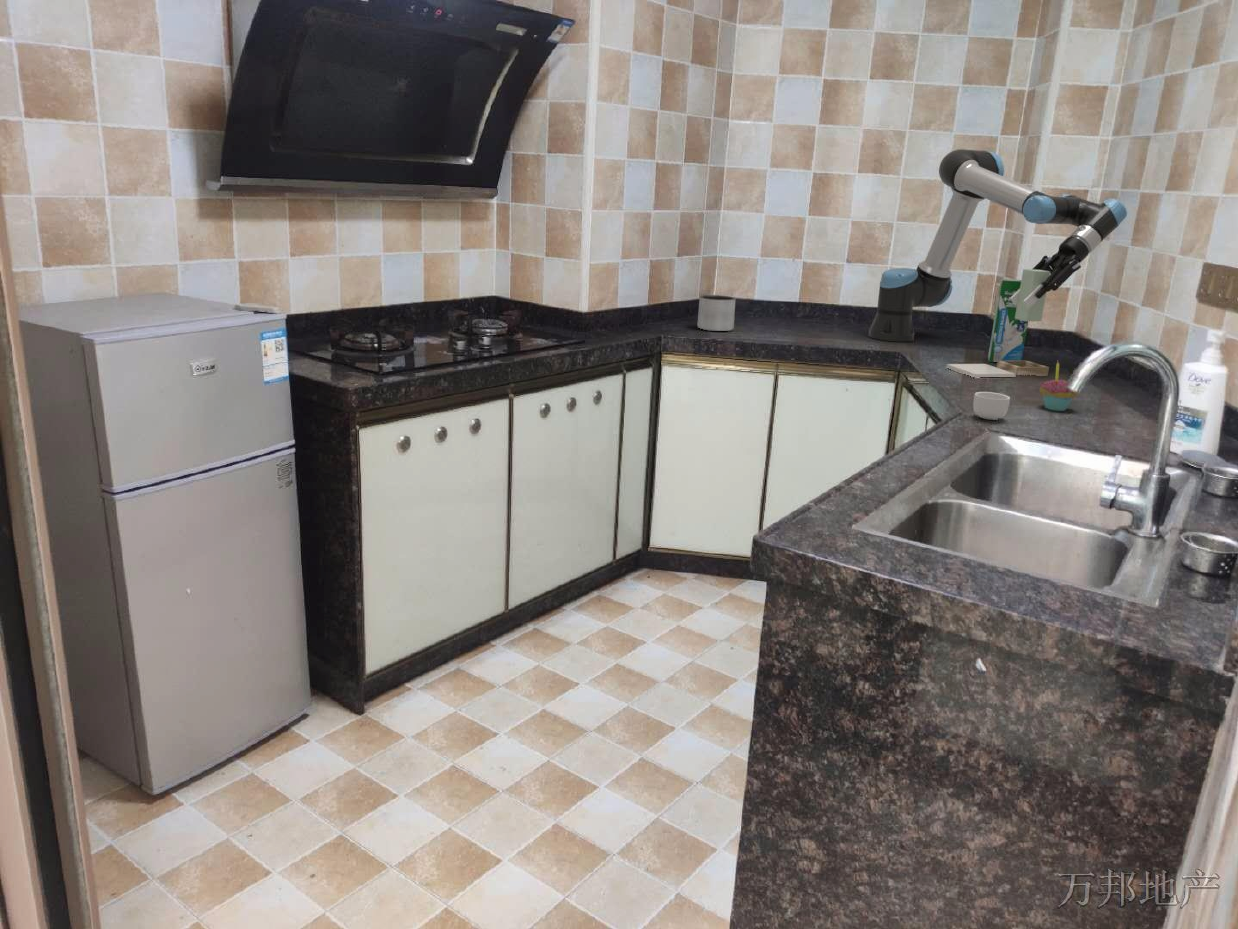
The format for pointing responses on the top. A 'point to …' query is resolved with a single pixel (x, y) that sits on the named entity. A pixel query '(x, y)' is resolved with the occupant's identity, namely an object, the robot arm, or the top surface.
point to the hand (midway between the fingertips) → (1019, 302)
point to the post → (1028, 285)
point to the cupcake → (1056, 393)
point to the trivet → (980, 370)
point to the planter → (716, 313)
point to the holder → (1023, 368)
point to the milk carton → (1007, 326)
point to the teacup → (990, 404)
